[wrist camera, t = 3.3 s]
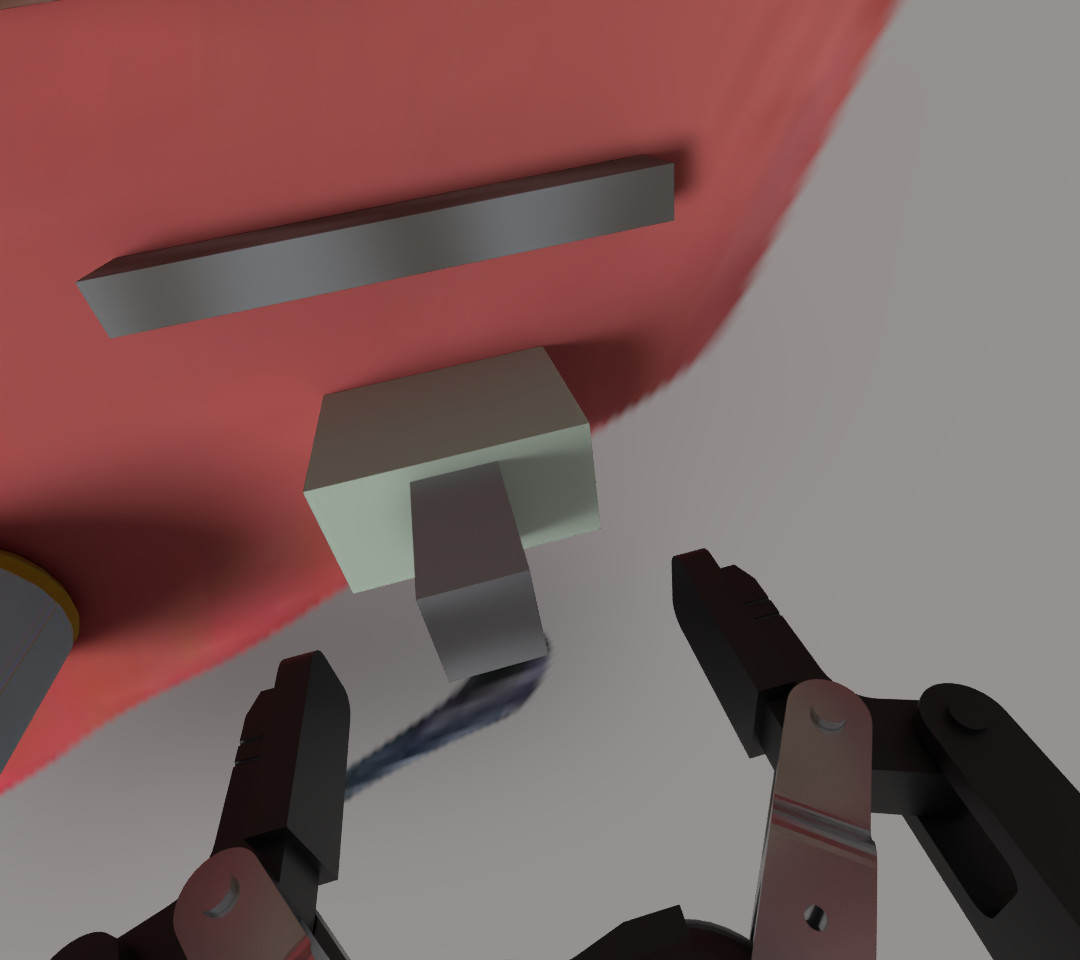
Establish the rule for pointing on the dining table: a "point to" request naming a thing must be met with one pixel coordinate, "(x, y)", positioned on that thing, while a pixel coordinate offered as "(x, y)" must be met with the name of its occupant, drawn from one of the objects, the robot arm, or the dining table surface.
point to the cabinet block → (456, 496)
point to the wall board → (374, 243)
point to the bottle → (29, 643)
